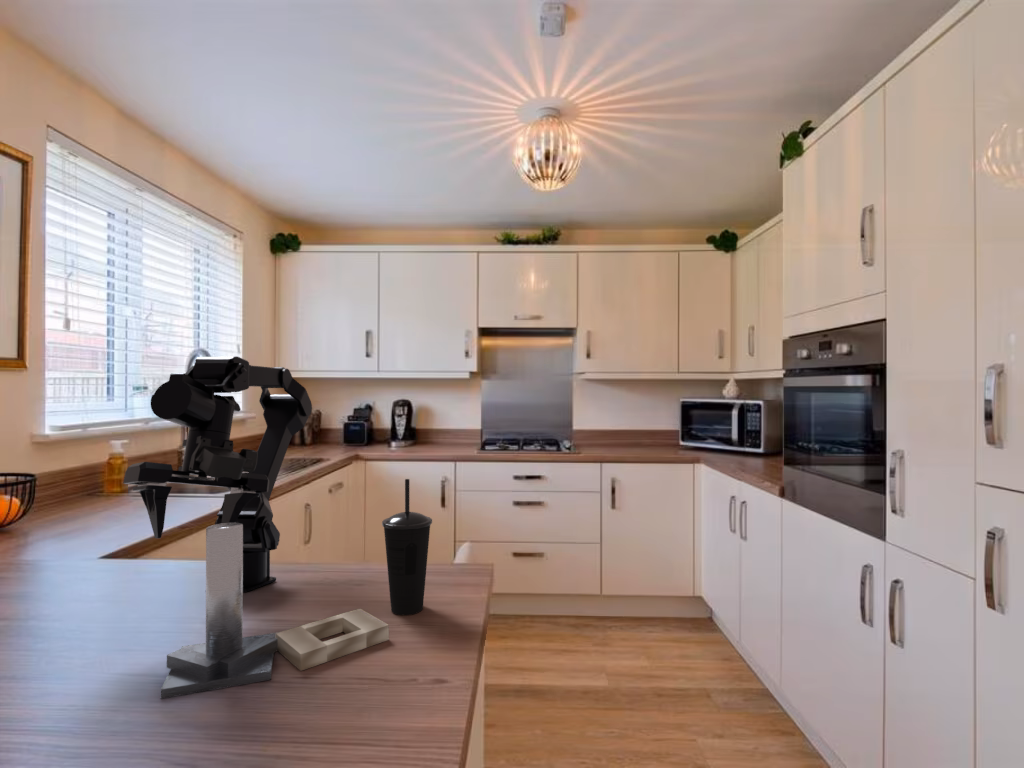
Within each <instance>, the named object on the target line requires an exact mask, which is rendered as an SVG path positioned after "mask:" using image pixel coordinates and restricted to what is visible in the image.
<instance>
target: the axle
mask: <svg viewBox="0 0 1024 768" xmlns="http://www.w3.org/2000/svg"><path fill="white" fill-rule="evenodd" d="M205 529H206V530H205V643H206V654H207V655H210V656H214V657H217V658H222V657H224V656H226V655H228V654H230V653H232V652H234V651H236V650H238V649H240V648H242V647H243V634H244V633H243V630H244V629H243V625H244V620H243V619H244V618H243V614H244V613H243V607H244V606H243V605H244V603H243V600H244V599H243V598H244V596H243V594H244V592H243V524H242V523H221V524H215V523H214V524H212V525H208V526H207V527H206V528H205Z"/></svg>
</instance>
